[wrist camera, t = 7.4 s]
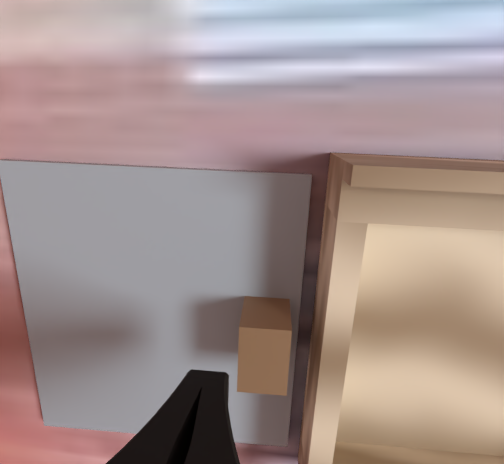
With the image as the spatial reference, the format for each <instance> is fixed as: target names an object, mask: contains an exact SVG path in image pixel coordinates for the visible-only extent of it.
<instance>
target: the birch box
mask: <svg viewBox="0 0 504 464" xmlns="http://www.w3.org/2000/svg"><path fill="white" fill-rule="evenodd" d="M298 464H504V161H501V160H479V159H458V158H436V157H414V156H393V155H371V154H349V153H330V161H329V170H328V179H327V189H326V198H325V208H324V217H323V226H322V236H321V245H320V254H319V264H318V273H317V283H316V292H315V301H314V311H313V320H312V330H311V339H310V348H309V358H308V367H307V377H306V386H305V395H304V405H303V414H302V423H301V433H300V442H299V452H298Z"/></svg>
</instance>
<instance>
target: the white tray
mask: <svg viewBox="0 0 504 464" xmlns="http://www.w3.org/2000/svg"><path fill="white" fill-rule="evenodd" d="M0 179H1V184H2V190H3V195H4V201H5V207H6V212H7V218H8V224H9V229H10V235H11V241H12V246H13V252H14V257H15V263H16V269H17V274H18V280H19V286H20V291H21V297H22V303H23V308H24V314H25V320H26V325H27V331H28V336H29V342H30V348H31V353H32V359H33V365H34V370H35V376H36V382H37V387H38V393H39V399H40V404H41V410H42V415H43V421H44V426H55V427H67V428H78V429H89V430H101V431H112V432H123V433H135V434H137V433H138V432H139V431H140V430H141V429H142V428H143V427H144V426H145V425H146V423H147V422H148V421H149V420H150V419H151V418H152V417H153V416H154V415H155V414H156V412H157V411H158V410H159V409H160V408H161V406H162V405H163V404H164V403H165V402H166V400H167V399H168V398H169V397H170V395H171V394H172V393H173V392H174V390H175V389H176V388H177V386H178V385H179V384H180V382H181V381H182V380H183V378H184V377H185V375H186V374H187V372H188V371H190V370H191V369H193V370H206V371H218V372H226V373H227V374H228V375H229V396H228V409H229V416H230V422H231V428H232V433H233V438H234V442H237V443H248V444H260V445H271V446H283V447H287V446H288V435H289V424H290V413H291V402H292V391H293V380H294V369H295V358H296V347H297V336H298V325H299V314H300V303H301V292H302V281H303V270H304V259H305V248H306V237H307V226H308V215H309V204H310V193H311V182H312V175H311V174H298V173H277V172H256V171H236V170H215V169H195V168H174V167H153V166H133V165H112V164H92V163H71V162H50V161H30V160H9V159H3V160H0Z"/></svg>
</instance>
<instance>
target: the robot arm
mask: <svg viewBox="0 0 504 464" xmlns="http://www.w3.org/2000/svg"><path fill="white" fill-rule="evenodd" d="M228 396H229V375H228V374H227V373H226V372H218V371H206V370H193V369H191V370H190V371H188V372H187V374H186V375H185V377H184V378H183V380H182V381H181V382H180V384H179V385H178V386H177V388H176V389H175V390H174V392H173V393H172V394H171V395H170V397H169V398H168V399H167V400H166V402H165V403H164V404H163V405H162V406H161V408H160V409H159V410H158V411H157V412H156V414H155V415H154V416H153V417H152V418H151V419H150V420H149V421H148V422H147V423H146V425H145V426H144V427H143V428H142V429H141V430H140V431H139V432H138V433H137V434H136V435H135V436H134V437H133V438H132V439H131V440H130V441H129V442H128V443H127V444H126V445H125V446H124V447H123V448H122V449H121V450H120V451H119V452H118V453H117V454H116V455H115V456H114V457H113V458H111V459H110V460H109V461H108V462H107V463H106V464H240V462H239V459H238V455H237V451H236V447H235V442H234V438H233V433H232V428H231V422H230V416H229V409H228Z"/></svg>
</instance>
